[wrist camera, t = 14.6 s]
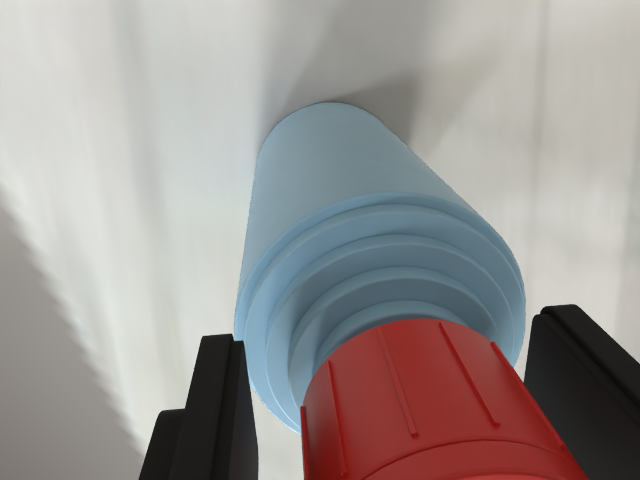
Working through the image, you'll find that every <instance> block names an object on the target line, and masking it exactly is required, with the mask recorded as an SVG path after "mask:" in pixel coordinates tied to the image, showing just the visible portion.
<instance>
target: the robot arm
mask: <svg viewBox="0 0 640 480" xmlns="http://www.w3.org/2000/svg"><path fill="white" fill-rule="evenodd" d="M524 385H525V386H526V388H527V389H528V390H529V392H530V393H531V395H532V396H533V398H534V399H535V401H536V402H537V404H538V405H539V407H540V408H541V409H542V411H543V412H544V414H545V415H546V417H547V418H548V420H549V421H550V423H551V424H552V426H553V427H554V428H555V430H556V431H557V433H558V434H559V436H560V437H561V439H562V440H563V442H564V443H565V445H566V446H567V448H568V449H569V451H570V452H571V454H572V455H573V457H574V458H575V460H576V461H577V463H578V464H579V465H580V467H581V468H582V470H583V471H584V473H585V474H586V476H587V477H588V479H589V480H640V364H639V363H638V362H637V361H636V360H635V359H634V358H633V357H632V356H631V355H630V354H628V353H627V352H626V351H625V350H624V349H623V348H622V347H621V346H620V345H619V344H618V343H617V342H616V341H615V340H614V339H613V338H611V337H610V336H609V335H608V334H607V333H606V332H605V331H604V330H603V329H602V328H601V327H600V326H599V325H598V324H597V323H596V322H594V321H593V320H592V319H591V318H590V317H589V316H588V315H587V314H586V313H585V312H584V311H583V310H582V309H581V308H580V307H578V306H577V305H574V304H569V305H557V306H546V307H544V308H543V309H542V310H541V312H540V314H538V315H535V316H534V318H533V321H532V327H531V334H530V341H529V348H528V355H527V362H526V370H525V377H524ZM139 480H258V444H257V437H256V429H255V421H254V414H253V406H252V399H251V391H250V383H249V376H248V368H247V361H246V353H245V346H244V341H243V340H240V341H234V339H233V335H232V334H221V335H210V336H203V337H202V339H201V343H200V347H199V351H198V355H197V359H196V364H195V368H194V372H193V376H192V381H191V385H190V389H189V393H188V398H187V402H186V406H185V409H174V410H164V411H161V412H160V413H159V415H158V418H157V420H156V423H155V427H154V430H153V433H152V437H151V440H150V443H149V447H148V450H147V453H146V457H145V460H144V463H143V466H142V470H141V473H140V476H139Z"/></svg>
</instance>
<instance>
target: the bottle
mask: <svg viewBox="0 0 640 480" xmlns="http://www.w3.org/2000/svg"><path fill="white" fill-rule="evenodd" d="M525 303H526V300H525V291H524V283H523V279H522V276H521V273H520V269H519V266H518V264H517V262H516V260H515V258H514V256H513V253H512V251H511V250H510V249H509V247H508V246H507V244H506V243H505V241H504V240H503V238H502V237H501V236H500V235H499V234H498V233H497V232H496V231H495V230H494V229H493V228H492V227H491V226H490V224H488V223H487V222H486V221H485V220H484V219H483V218H482V217H481V216H480V215H479V214H478V213H477V212H476V211H475V210H474V209H473V208H472V207H471V206H470V205H468V204H467V203H466V202H465V201H464V200H463V199H462V198H461V197H460V196H459V195H458V194H457V193H456V192H455V191H454V190H453V189H452V188H451V187H450V186H448V185H447V184H446V183H445V182H444V181H443V180H442V179H441V178H440V177H439V176H438V175H437V174H436V173H435V172H434V171H433V170H432V169H431V168H430V167H428V166H427V165H426V164H425V163H424V162H423V161H422V160H421V159H420V158H419V157H418V156H417V155H416V154H415V153H414V152H413V151H412V150H411V149H410V148H408V147H407V146H406V145H405V144H404V143H403V142H402V141H401V140H400V139H399V138H398V137H397V136H396V135H395V134H394V133H393V132H392V131H391V130H390V129H388V128H387V127H386V126H385V125H384V124H383V123H382V122H381V121H380V120H379V119H377V118H376V117H375V116H374V115H372V114H371V113H369V112H367V111H365V110H363V109H361V108H359V107H356V106H353V105H349V104H345V103H337V102H324V103H318V104H313V105H310V106H306V107H303V108H301V109H299V110H297V111H295V112H293V113H291V114H290V115H288V116H287V117H285V118H284V119H283V120H282V121H280V122H279V123H278V124H277V125H276V126H275V127H274V128H273V130H272V131H271V132H270V133H269V135H268V136H267V138H266V139H265V141H264V143H263V145H262V147H261V149H260V152H259V155H258V158H257V163H256V168H255V175H254V182H253V189H252V196H251V203H250V210H249V217H248V224H247V231H246V238H245V245H244V252H243V260H242V267H241V274H240V281H239V288H238V295H237V302H236V309H235V319H234V338H235V341H240V340H243V341H244V346H245V353H246V361H247V368H248V376H249V383H250V385H251V387H252V388H253V390H254V392H255V393H256V394H257V395H258V396H259V398H260V399H261V401H262V402H263V403H264V405H265V406H266V407H267V408H268V409H269V410H270V412H271V413H272V414H273V415H274V416H275V417H276V418H278V419H279V420H280V421H281V422H282V423H283V424H284V425H286V426H287V427H289V428H290V429H292V430H293V431H295V432H296V433H298V434H300V435H301V420H300V406H303V400H304V397H305V393H306V390H307V388H308V386H309V384H310V382H311V380H312V378H313V376H314V375H315V373H316V372H317V370H318V369H319V367H320V366H321V365H322V364H323V362H324V361H325V360H326V359H327V358H328V357H329V356H330V355H331V354H332V353H333V352H334V351H335V350H337V349H338V348H339V347H340V346H342V345H343V344H344V343H346V342H347V341H349V340H350V339H352V338H353V337H355V336H357V335H359V334H361V333H363V332H365V331H367V330H369V329H372V328H374V327H377V326H380V325H383V324H387V323H390V322H394V321H400V320H406V319H420V318H426V319H439V320H445V321H451V322H454V323H457V324H461V325H464V326H466V327H469V328H471V329H473V330H475V331H477V332H479V333H480V334H482V335H483V336H485V337H486V338H488V339H489V340H490V341H491V342H492V341H494V342H495V343H496V344H497V345H498V347H499V348H500V350H501V351H502V352H503V354H504V355H505V357H506V358H507V360H508V361H509V363H510V364H511V366H512V367H513V368H514V366H515V364H516V362H517V360H518V357H519V353H520V350H521V347H522V344H523V338H524V333H525V316H526V313H525Z"/></svg>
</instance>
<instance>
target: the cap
mask: <svg viewBox="0 0 640 480" xmlns="http://www.w3.org/2000/svg"><path fill="white" fill-rule="evenodd" d="M300 420H301V437H302V453H303V470H304V480H589V479H588V477H587V476H586V474H585V473H584V471H583V470H582V468H581V467H580V465H579V464H578V463H577V461H576V460H575V458H574V457H573V455H572V454H571V452H570V451H569V449H568V448H567V446H566V445H565V443H564V442H563V440H562V439H561V437H560V436H559V434H558V433H557V431H556V430H555V428H554V427H553V426H552V424H551V423H550V421H549V420H548V418H547V417H546V415H545V414H544V412H543V411H542V409H541V408H540V407H539V405H538V404H537V402H536V401H535V399H534V398H533V396H532V395H531V393H530V392H529V390H528V389H527V388H526V386H525V385H524V383H523V382H522V380H521V379H520V377H519V376H518V374H517V373H516V371H515V370H514V369H513V367H512V366H511V364H510V363H509V361H508V360H507V358H506V357H505V355H504V354H503V352H502V351H501V350H500V348H499V347H498V345H497V344H496V343H495V342H494V341H492V342H491V341H490V340H489V339H488V338H486V337H485V336H483V335H482V334H480V333H479V332H477V331H475V330H473V329H471V328H469V327H466V326H464V325H461V324H457V323H454V322H451V321H445V320H439V319H426V318H420V319H406V320H400V321H394V322H390V323H387V324H383V325H380V326H377V327H374V328H372V329H369V330H367V331H365V332H363V333H361V334H359V335H357V336H355V337H353V338H352V339H350V340H349V341H347V342H346V343H344V344H343V345H342V346H340V347H339V348H338V349H337V350H335V351H334V352H333V353H332V354H331V355H330V356H329V357H328V358H327V359H326V360H325V361H324V362H323V364H322V365H321V366H320V367H319V369H318V370H317V372H316V373H315V375H314V376H313V378H312V380H311V382H310V384H309V386H308V388H307V390H306V393H305V397H304V400H303V406H300Z"/></svg>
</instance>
